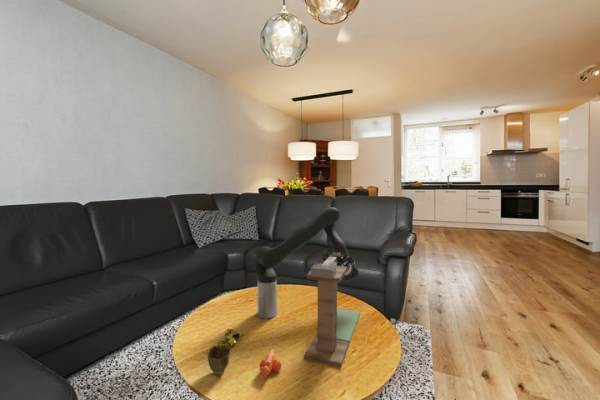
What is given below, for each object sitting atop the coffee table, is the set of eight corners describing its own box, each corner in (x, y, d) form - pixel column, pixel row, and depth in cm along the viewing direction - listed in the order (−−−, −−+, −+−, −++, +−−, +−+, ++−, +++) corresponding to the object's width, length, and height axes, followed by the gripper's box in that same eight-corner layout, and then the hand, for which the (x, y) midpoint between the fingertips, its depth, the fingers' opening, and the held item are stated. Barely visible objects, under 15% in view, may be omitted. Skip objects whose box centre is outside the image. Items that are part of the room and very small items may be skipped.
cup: (224, 382, 94) (223, 358, 93) (203, 378, 95) (202, 356, 95) (233, 367, 101) (233, 345, 101) (214, 364, 103) (214, 343, 102)
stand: (315, 338, 119) (315, 263, 117) (348, 345, 114) (349, 267, 112) (303, 358, 106) (303, 274, 104) (341, 367, 101) (342, 278, 99)
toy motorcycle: (226, 325, 123) (242, 326, 122) (226, 334, 123) (242, 335, 122) (216, 341, 111) (233, 342, 110) (216, 350, 111) (233, 352, 111)
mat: (332, 308, 146) (332, 307, 146) (360, 313, 141) (360, 311, 141) (316, 336, 121) (316, 334, 121) (349, 342, 116) (349, 340, 116)
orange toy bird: (267, 343, 106) (258, 364, 94) (286, 351, 105) (280, 373, 93) (263, 355, 106) (254, 378, 94) (282, 363, 106) (275, 387, 94)
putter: (328, 258, 124) (328, 251, 124) (346, 260, 121) (346, 253, 121) (310, 276, 102) (310, 267, 101) (332, 278, 99) (332, 270, 99)
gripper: (328, 255, 136) (319, 245, 122) (358, 258, 131) (353, 248, 117) (326, 271, 133) (317, 262, 119) (357, 275, 128) (351, 266, 114)
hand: (335, 255), depth 118 cm, fingers open, 6 cm apart
